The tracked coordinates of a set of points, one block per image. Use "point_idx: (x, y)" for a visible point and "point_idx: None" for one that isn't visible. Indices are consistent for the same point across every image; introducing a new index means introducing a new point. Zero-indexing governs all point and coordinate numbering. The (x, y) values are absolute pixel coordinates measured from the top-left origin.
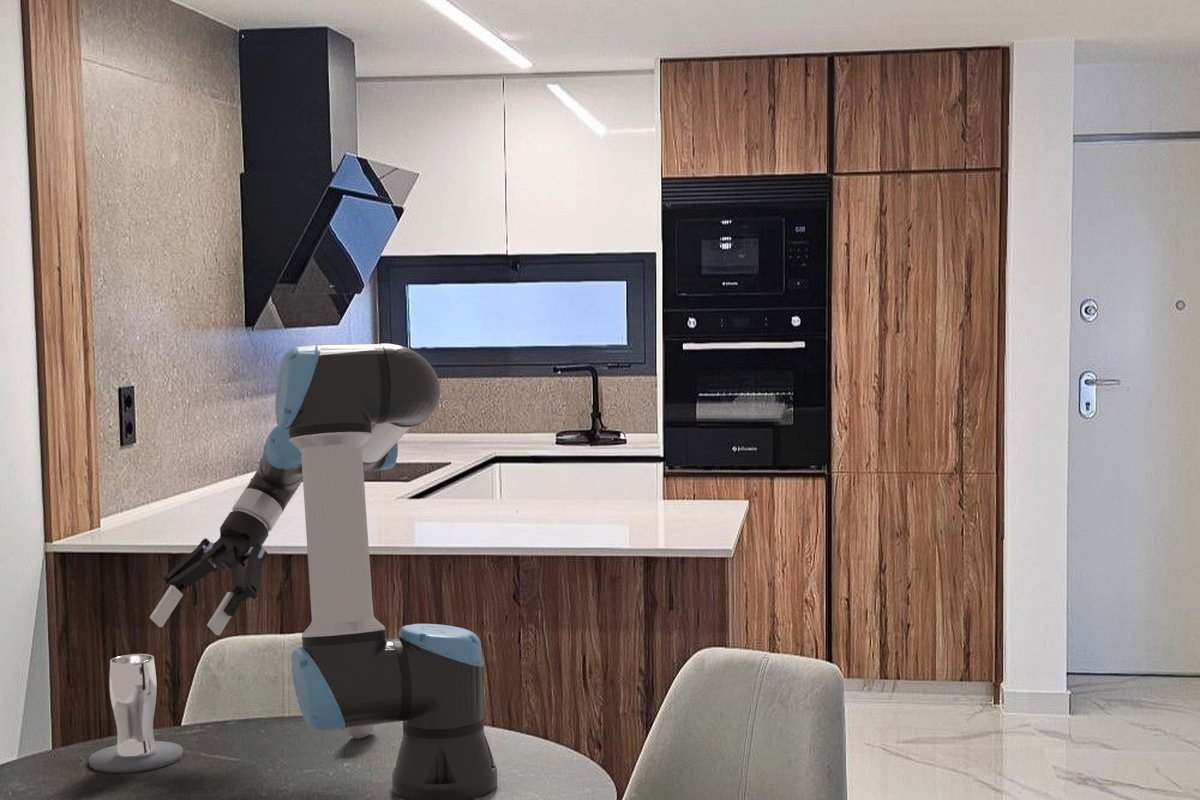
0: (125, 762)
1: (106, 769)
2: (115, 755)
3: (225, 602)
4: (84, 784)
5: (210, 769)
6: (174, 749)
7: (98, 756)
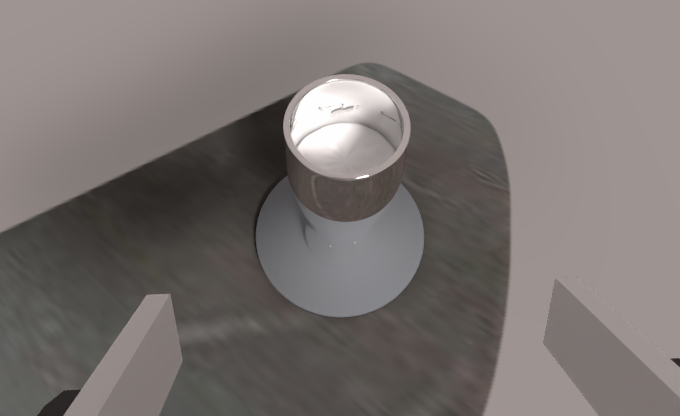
0: None
1: None
2: None
3: (70, 411)
4: None
5: (165, 265)
6: (299, 286)
7: None
